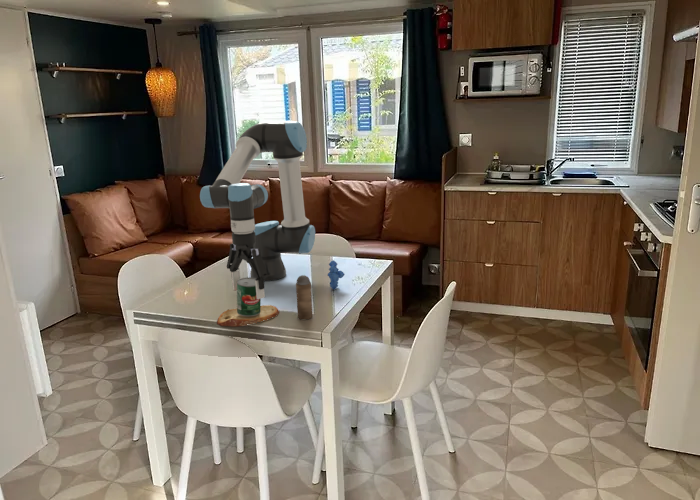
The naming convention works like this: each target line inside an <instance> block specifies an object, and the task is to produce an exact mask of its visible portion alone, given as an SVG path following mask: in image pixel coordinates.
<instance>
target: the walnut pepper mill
mask: <svg viewBox="0 0 700 500" xmlns="http://www.w3.org/2000/svg"><path fill="white" fill-rule="evenodd" d="M295 291H296V292H295V293H296V306H297V307H296V308H297V319H298V318H299V320H301V319H307V320H310V318H311V319H313V317H314V316H313V298H312V297H313V296H312V282H311V279H310V278H309V277H308V276H307V275H305V274H302V275H299V276H298V277H297V279H296V282H295Z"/></svg>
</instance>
